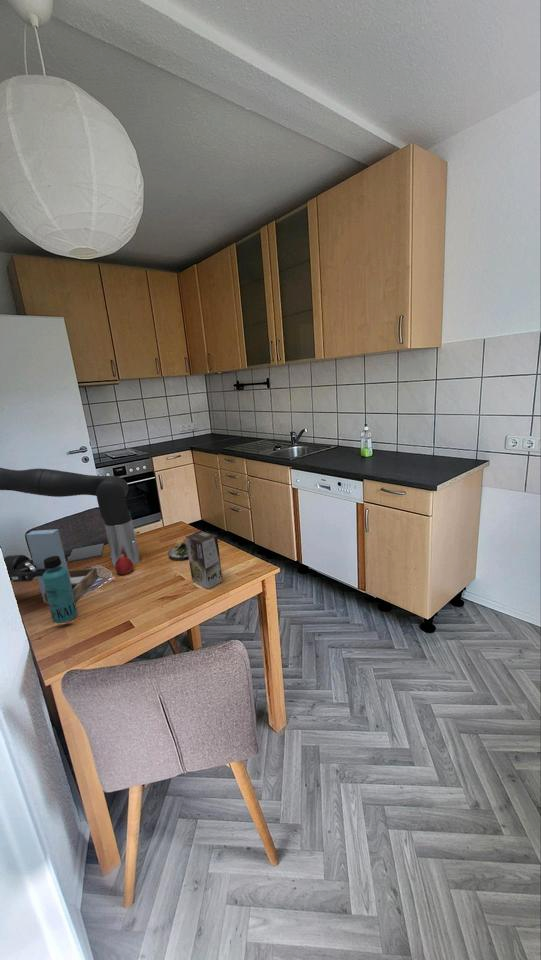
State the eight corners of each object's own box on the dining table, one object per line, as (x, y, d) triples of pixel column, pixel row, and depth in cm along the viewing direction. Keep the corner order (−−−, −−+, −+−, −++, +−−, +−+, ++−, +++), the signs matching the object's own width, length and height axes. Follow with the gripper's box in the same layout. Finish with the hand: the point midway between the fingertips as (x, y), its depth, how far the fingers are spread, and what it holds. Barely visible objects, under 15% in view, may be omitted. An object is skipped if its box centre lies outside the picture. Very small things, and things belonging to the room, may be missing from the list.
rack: (73, 582, 132) (70, 569, 130) (98, 581, 131) (96, 568, 130) (46, 609, 116) (42, 595, 115) (74, 608, 116) (71, 593, 115)
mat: (104, 544, 162) (103, 543, 162) (101, 556, 151) (101, 554, 151) (73, 550, 159) (72, 549, 159) (68, 562, 148) (67, 561, 148)
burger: (184, 564, 139) (181, 545, 137) (161, 558, 145) (158, 540, 143) (205, 550, 149) (203, 533, 147) (184, 545, 155) (181, 528, 153)
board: (45, 606, 118) (26, 534, 112) (50, 601, 121) (32, 530, 115) (70, 605, 118) (52, 533, 112) (75, 599, 121) (58, 529, 115)
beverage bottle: (60, 616, 112) (44, 554, 107) (83, 613, 113) (68, 551, 108) (49, 630, 106) (32, 565, 101) (74, 627, 106) (58, 562, 101)
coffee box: (223, 581, 125) (218, 535, 120) (208, 589, 120) (201, 542, 116) (206, 573, 131) (200, 529, 127) (191, 581, 126) (184, 536, 122)
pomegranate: (118, 581, 130) (113, 560, 128) (116, 574, 135) (112, 554, 133) (135, 576, 132) (131, 555, 130) (133, 569, 137) (129, 549, 135)
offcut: (67, 583, 128) (66, 578, 128) (86, 581, 129) (85, 575, 129) (62, 591, 123) (61, 586, 123) (82, 588, 124) (81, 583, 124)
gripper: (-13, 568, 109) (42, 564, 108) (20, 546, 123) (69, 543, 122) (-6, 591, 111) (48, 588, 110) (26, 567, 125) (74, 564, 124)
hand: (59, 564), depth 116 cm, fingers open, 8 cm apart
